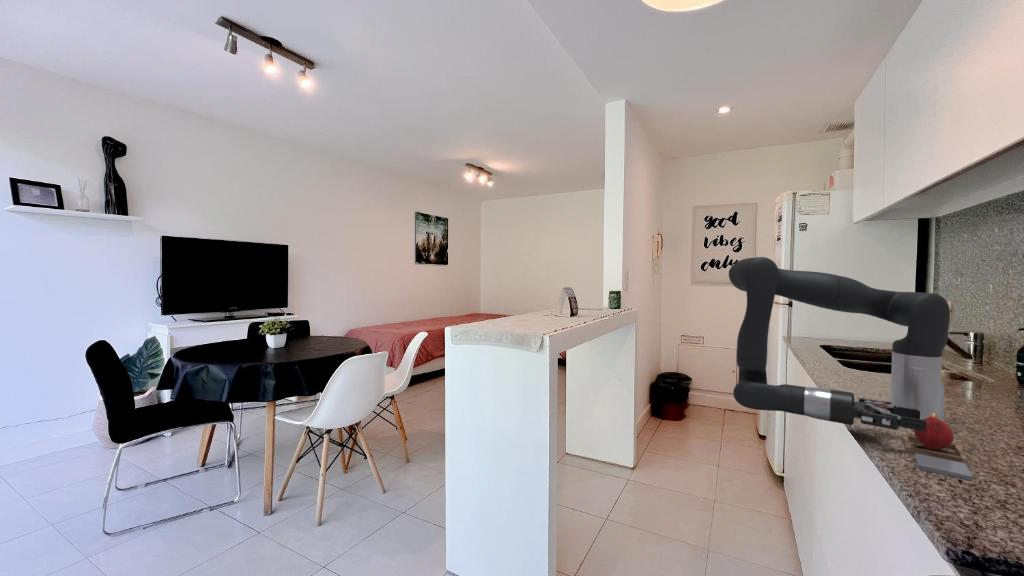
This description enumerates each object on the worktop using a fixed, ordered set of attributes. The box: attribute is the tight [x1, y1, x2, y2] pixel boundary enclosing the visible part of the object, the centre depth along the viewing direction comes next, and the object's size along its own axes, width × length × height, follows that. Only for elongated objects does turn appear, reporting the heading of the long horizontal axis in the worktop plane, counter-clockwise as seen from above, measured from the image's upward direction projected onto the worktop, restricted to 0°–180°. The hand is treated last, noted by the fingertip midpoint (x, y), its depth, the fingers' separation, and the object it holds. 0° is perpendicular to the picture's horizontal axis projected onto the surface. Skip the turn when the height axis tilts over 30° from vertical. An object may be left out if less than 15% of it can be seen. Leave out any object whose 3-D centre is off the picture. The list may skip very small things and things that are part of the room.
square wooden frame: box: [902, 434, 969, 465], centre depth 87 cm, size 9×9×1 cm
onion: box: [913, 413, 954, 452], centre depth 87 cm, size 6×6×8 cm
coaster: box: [914, 453, 974, 482], centre depth 79 cm, size 7×7×1 cm
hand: (922, 420), depth 88 cm, fingers open, 8 cm apart
